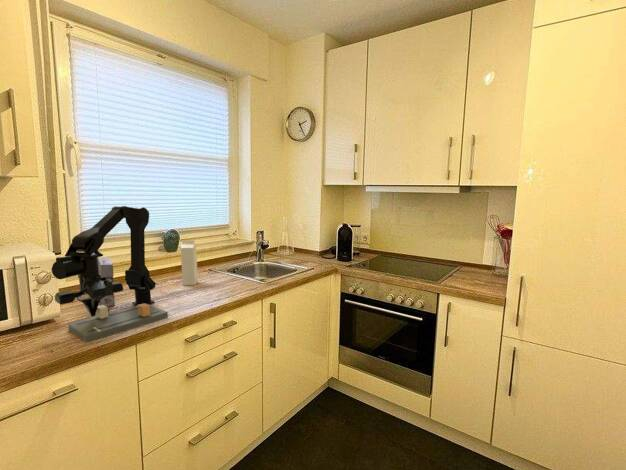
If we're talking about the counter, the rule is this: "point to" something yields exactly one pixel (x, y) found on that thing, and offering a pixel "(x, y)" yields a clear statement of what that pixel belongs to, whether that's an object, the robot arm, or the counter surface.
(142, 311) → the copper slider
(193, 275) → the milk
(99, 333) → the panel
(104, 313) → the cream slider
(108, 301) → the striped narrow carton
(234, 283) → the counter surface
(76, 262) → the robot arm
